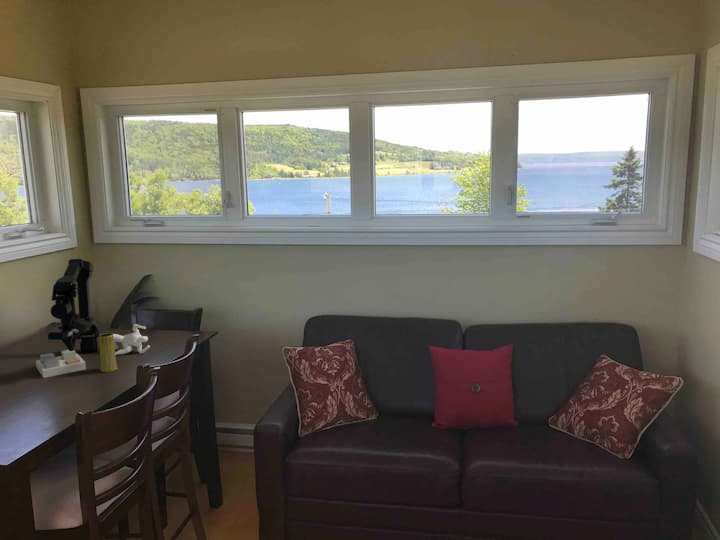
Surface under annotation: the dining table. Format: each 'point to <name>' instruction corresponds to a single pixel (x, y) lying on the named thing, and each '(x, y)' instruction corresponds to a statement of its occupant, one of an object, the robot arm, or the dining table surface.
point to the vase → (107, 352)
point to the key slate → (46, 356)
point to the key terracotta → (72, 360)
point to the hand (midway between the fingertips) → (71, 351)
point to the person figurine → (131, 341)
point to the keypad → (60, 367)
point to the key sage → (68, 354)
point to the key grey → (51, 362)
